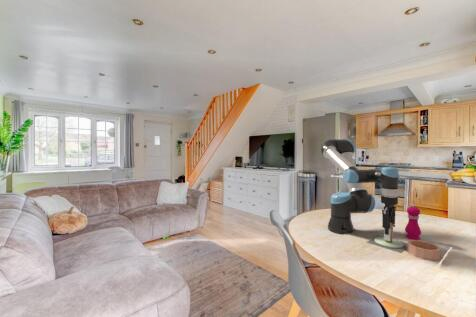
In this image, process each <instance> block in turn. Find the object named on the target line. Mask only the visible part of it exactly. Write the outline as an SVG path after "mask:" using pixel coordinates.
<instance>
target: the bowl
mask: <svg viewBox="0 0 476 317" xmlns="http://www.w3.org/2000/svg"><path fill="white" fill-rule="evenodd" d="M406 243H407V248H406V249H407V252H408V254H410V255H412V256H413V257H416V258H418V259H419V258H420V259H423V260H427V261H438V260H440V259H441V257H442V256H441V255H442V254H441V253H442V248H441V246H439V245H437V244H435V243H432V242H429V241H425V240H421V239H420V240H412V239H409V240H407V241H406Z"/></svg>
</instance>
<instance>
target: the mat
mask: <svg viewBox="0 0 476 317" xmlns="http://www.w3.org/2000/svg"><path fill="white" fill-rule="evenodd" d="M376 237H384V235H378V234H377V235H376V236H374V237H372V238H371V239H370V240H367V241H366V244H370V245H373V246H377V247H380V248H384V249H386V250H390V251H394V252H396V253H398V254H400V253H401V254H402V253H403V252H404V251H405V250H406V249H407V242H404V241H401V240H399V241H400V242H402V243H403V247H402V248H398V249H396V248H388V247H384V246H381V245H379V244H377V243H376V242H375V241H374V239H375V238H376Z"/></svg>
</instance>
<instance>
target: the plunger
mask: <svg viewBox="0 0 476 317" xmlns="http://www.w3.org/2000/svg"><path fill="white" fill-rule="evenodd" d="M390 229H391V233H390V241H388V240H384V236H383V237H376V236H375V237H376V238H375V239H374V241H375V242H376V243H377V244H379V245H381V246H384V247H388V248H396V249H398V248H402V247H403V243H402V242H403V241H402V242H400V241H401V240H399V239H395V238H393V239H392V233H393V234H394V227H393V223H390Z"/></svg>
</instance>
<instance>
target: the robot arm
mask: <svg viewBox="0 0 476 317" xmlns="http://www.w3.org/2000/svg"><path fill="white" fill-rule="evenodd" d="M320 152H321V155H322V156H323V157H324V158H326V159H328V160H329V161H330V162H331V163H332V164H333V165H335V167H336V168H337V169H339V170H338V171H340V172H341V173H342V175H343V180H344V182H346V186H347V189H348V192H340V191H339V192H336V193H335V192H334V193H332V195H331V197H330V218H329V221H328V223H327V229H328V230H329V231H331V232H332V233H335V234H339V235H346V234H352V233H354V231H355V228H354V225H353V224H354V223H353V222H352V214H367V213H372V212H373V211H374V209H375V207H376V198H375V197H374V196H373V195H372V194H370V193H368V189H366V188H364V187H363V184H364V183H365V184H367V183H370V184H372V183H376V184H380V185H381V187H380V202H381V204H384V207H383V209H382V210H381V214H382V216H381V217H382V226H381V227H382V228H383V230H384V231H383V237H384V240H388V241H390V233H391V229H390V223H393V228H395V227H396V225H395V224H396V210H397V207H396V206H397V205H398V204H399V197H398V195H399V193H400V191H399V177H400V175H399V169H398V168H397V167H395V166H393V167H390V166H389V167H388V166H387V167H386V166H383V167H382V168H381V169H376V168H368V169H358V168H357V167H356V163H355V162H354V159H353V156H354V155H355V152H356V144H355V143H354V142H353V140H351V139H347V138H343V139H341V138H340V139H339V138H338V139H333V138H332V139H327V140H325V141H323V143H322V144H321V146H320ZM392 239H394V232H393V233H392Z"/></svg>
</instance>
